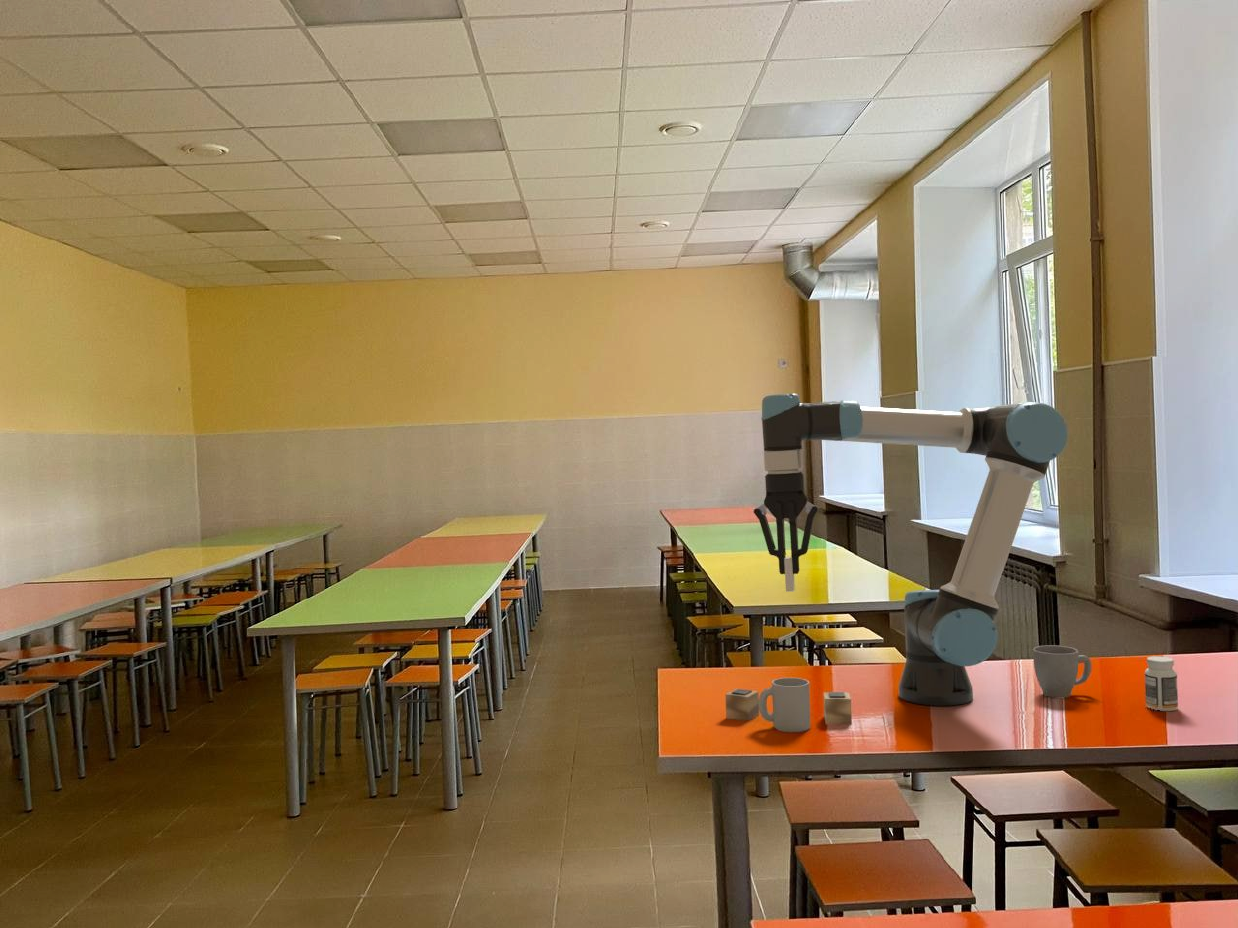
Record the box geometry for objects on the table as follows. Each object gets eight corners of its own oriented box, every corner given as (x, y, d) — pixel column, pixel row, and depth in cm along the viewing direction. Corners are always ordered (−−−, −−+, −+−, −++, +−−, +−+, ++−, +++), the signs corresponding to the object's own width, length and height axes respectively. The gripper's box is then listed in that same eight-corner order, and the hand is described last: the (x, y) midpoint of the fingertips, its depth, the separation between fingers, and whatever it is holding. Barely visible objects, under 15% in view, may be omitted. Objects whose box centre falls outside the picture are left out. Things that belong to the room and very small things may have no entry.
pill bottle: (1176, 705, 198) (1175, 656, 198) (1179, 713, 193) (1178, 662, 193) (1144, 703, 201) (1143, 655, 201) (1146, 710, 196) (1145, 661, 195)
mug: (1046, 701, 205) (1045, 655, 205) (1026, 690, 214) (1025, 646, 214) (1102, 698, 206) (1101, 652, 206) (1080, 687, 215) (1079, 643, 214)
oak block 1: (759, 715, 203) (758, 689, 203) (748, 721, 199) (747, 695, 199) (737, 712, 206) (736, 687, 205) (726, 718, 201) (725, 692, 201)
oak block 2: (849, 717, 199) (848, 691, 199) (851, 724, 194) (850, 697, 194) (824, 717, 200) (823, 691, 200) (825, 724, 195) (825, 697, 195)
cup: (813, 732, 190) (811, 686, 189) (760, 733, 190) (759, 687, 190) (808, 722, 197) (806, 677, 197) (757, 722, 197) (756, 678, 197)
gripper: (818, 469, 198) (825, 586, 198) (754, 472, 201) (760, 587, 202) (815, 471, 191) (822, 593, 191) (748, 474, 194) (755, 593, 195)
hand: (790, 590), depth 197 cm, fingers closed
